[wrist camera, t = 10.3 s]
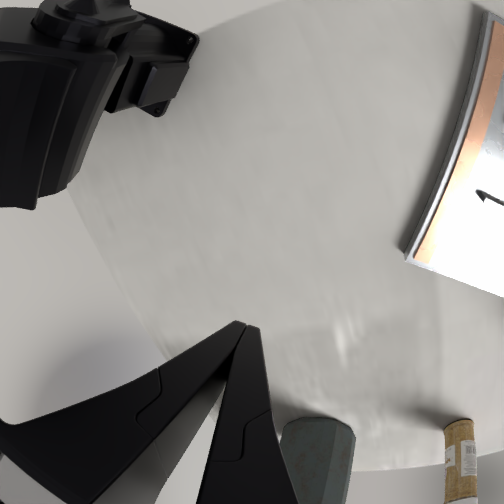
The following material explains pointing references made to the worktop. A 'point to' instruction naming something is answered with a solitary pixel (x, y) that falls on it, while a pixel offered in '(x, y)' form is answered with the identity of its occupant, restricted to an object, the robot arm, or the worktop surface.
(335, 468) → the bottle
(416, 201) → the worktop surface
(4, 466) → the robot arm
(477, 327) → the worktop surface
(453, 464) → the sprinkles bottle
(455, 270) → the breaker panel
